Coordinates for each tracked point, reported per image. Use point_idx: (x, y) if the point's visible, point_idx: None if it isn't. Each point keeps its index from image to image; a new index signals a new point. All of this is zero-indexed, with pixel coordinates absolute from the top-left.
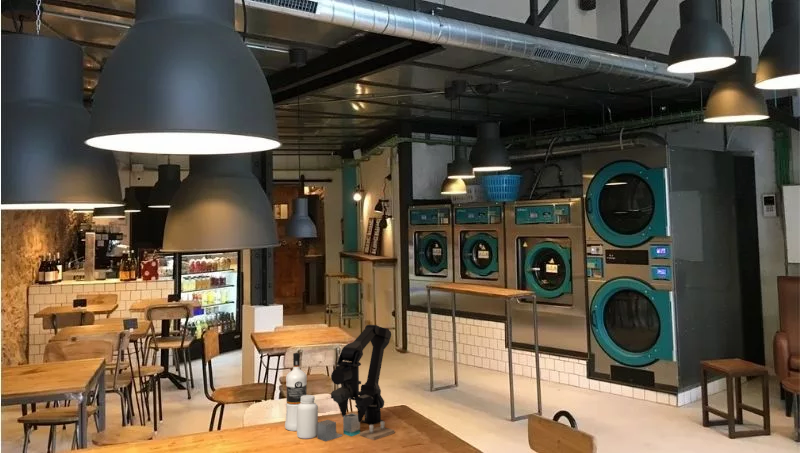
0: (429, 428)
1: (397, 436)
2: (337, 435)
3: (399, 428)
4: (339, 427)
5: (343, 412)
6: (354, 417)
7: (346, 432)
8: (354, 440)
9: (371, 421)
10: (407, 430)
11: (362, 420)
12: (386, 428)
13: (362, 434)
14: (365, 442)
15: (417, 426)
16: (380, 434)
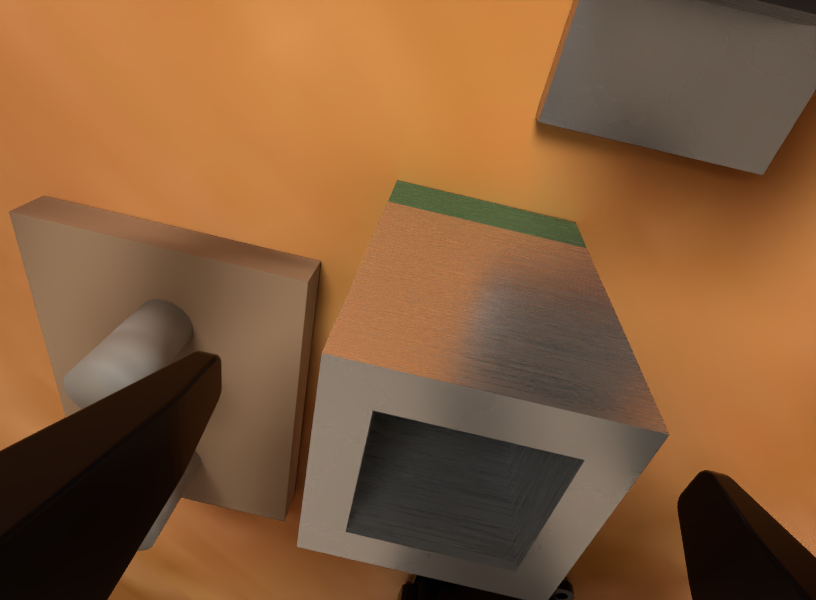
0: None
1: (5, 393)
2: (600, 37)
3: (175, 538)
4: (757, 408)
5: (757, 581)
6: (316, 431)
7: (505, 218)
8: (232, 42)
9: (452, 587)
10: None
11: (568, 596)
12: None
13: (254, 259)
14: (40, 53)
15: (117, 590)
16: (45, 321)
